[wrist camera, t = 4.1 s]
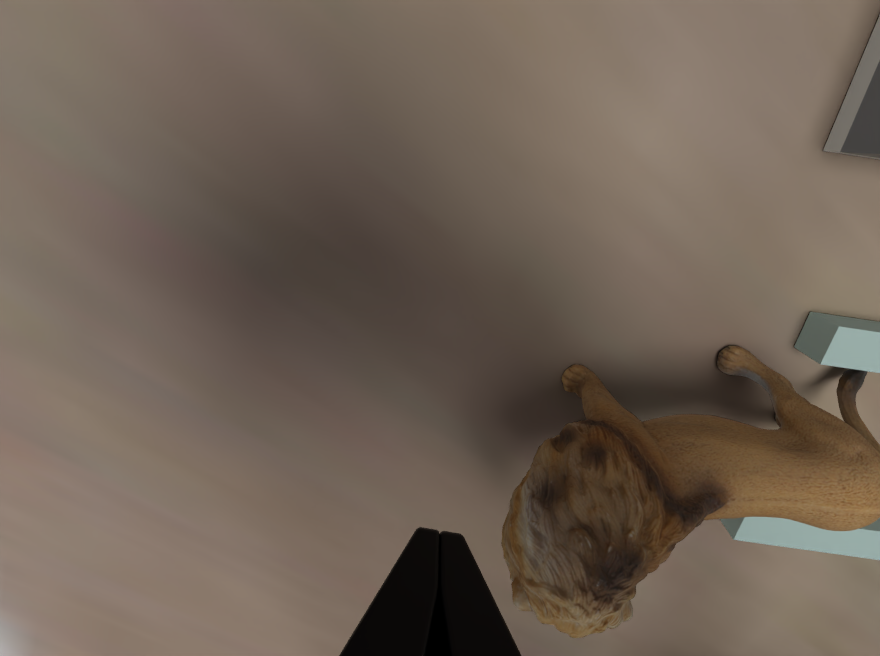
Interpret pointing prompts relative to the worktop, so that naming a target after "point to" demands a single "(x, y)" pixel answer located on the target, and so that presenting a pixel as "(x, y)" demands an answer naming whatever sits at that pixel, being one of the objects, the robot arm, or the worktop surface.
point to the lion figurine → (674, 490)
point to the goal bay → (837, 347)
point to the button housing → (860, 108)
